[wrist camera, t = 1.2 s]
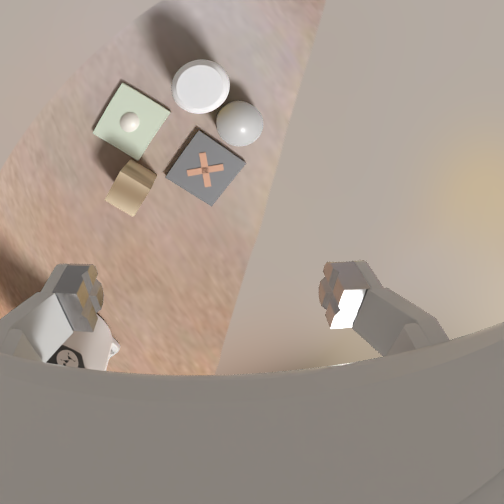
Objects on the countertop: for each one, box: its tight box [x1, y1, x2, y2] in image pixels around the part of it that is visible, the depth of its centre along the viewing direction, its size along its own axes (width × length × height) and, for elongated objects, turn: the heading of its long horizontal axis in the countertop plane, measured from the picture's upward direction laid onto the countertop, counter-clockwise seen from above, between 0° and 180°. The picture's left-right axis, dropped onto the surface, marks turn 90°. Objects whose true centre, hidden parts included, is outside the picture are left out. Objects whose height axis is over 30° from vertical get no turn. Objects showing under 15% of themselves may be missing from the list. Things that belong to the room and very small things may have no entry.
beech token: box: [105, 159, 157, 217], centre depth 31 cm, size 4×4×5 cm
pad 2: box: [165, 130, 246, 206], centre depth 34 cm, size 7×7×1 cm
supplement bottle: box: [171, 59, 230, 114], centre depth 24 cm, size 5×5×10 cm
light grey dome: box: [216, 101, 263, 146], centre depth 30 cm, size 5×5×3 cm
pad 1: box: [93, 83, 171, 161], centre depth 29 cm, size 7×7×1 cm
